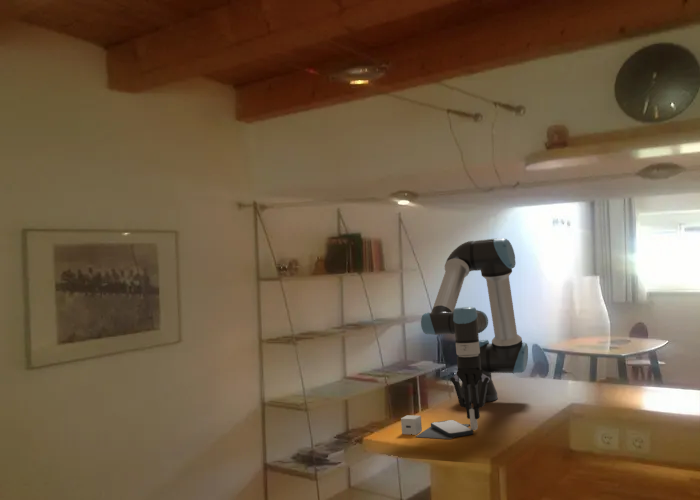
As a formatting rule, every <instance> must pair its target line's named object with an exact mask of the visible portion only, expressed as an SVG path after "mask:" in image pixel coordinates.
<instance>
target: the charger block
mask: <svg viewBox="0 0 700 500" xmlns="http://www.w3.org/2000/svg"><path fill="white" fill-rule="evenodd" d="M400 423H401V425H400V427H401V434H402V435H411V434H412V436H413V435H415V436H417V435H419V434H420V433H422V432H423V430H422V429H423V427H422V416H421V415H409V414H407V415H405V416H403V417H401V418H400Z"/></svg>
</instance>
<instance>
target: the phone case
mask: <svg viewBox="0 0 700 500" xmlns="http://www.w3.org/2000/svg"><path fill="white" fill-rule="evenodd" d="M462 424H463V423H460V422H459V421H456V420H453V419H449V420H447V419H446V420H442V421H433V422H431V423H430V427H432V428H434V429H435V430H437V431H439V432H440V433H442V434H444V435H446V436H447V437H450V438H452V437H454V438H459V437H464V436H471V435H472V436H473V434H474V430H472V429H471V427H469V426H468V427H466V426H464V425H462ZM452 439H453V438H452Z"/></svg>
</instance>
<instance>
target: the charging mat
mask: <svg viewBox="0 0 700 500" xmlns="http://www.w3.org/2000/svg"><path fill="white" fill-rule="evenodd" d="M461 424H462V425H464V426H466V427H468V428H469V426H471V425H470V424H467V423H461ZM415 438H419V439H420V438H422V439H423V438H424V439H425V438H426V439H439V440H452V439H454V438H455V437H452V438H450V437H447V436H446V435H444V434H442V433H440V432H439V431H437V430H435V429H434V428H432V427H431V426H429V427H428V428H427V429H425V430H422V431H421V432H420V433H418V434H417V435H415Z"/></svg>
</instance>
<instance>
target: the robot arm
mask: <svg viewBox="0 0 700 500" xmlns="http://www.w3.org/2000/svg"><path fill="white" fill-rule="evenodd" d="M515 266H516V255H515V250H514V248H513V245H512V244H511V242H510V240H508V239H507V238H498V237H497V238H488V239H479V240H469V241H466V242H464V243H461V244H460V245H458V246H457V247H456V248H455V249H453V251H452V252H451V253H450V254H449V256H448V257H447V259H446V261H445V264H444V271H445V272H444V274H443V278H442V281H441V284H440V286H439V289H438V292H437V294H436V298H435V301H434V303H433V307H432V309H431V312H427V313H423V314H422V315H421V318H420V319H421V320H420V327H421V330H422V332H423V333H424V334H425V335H434V336H437V335H439V336H440V335H454V339H455V341H454V342H455V351H456V355H457V357H456V363H457V364H456V366H457V371H456V374H455V375H453V376H452V377H450V381H451V383H452V384H453V386H454V389H455V390H454V391H455V393H456V397H457V399H458V402H459V406H460V407H462V408H464V409H466V411H465V412H466V418H467V420H469V421H470V425H469V426H470V429H472V430H473V431H476V430H478V428H479V427H478V420H479V419H480V418H481V416H480V408H483V407H485V404H486V403H487V402H493V401H496V400H497V399H499V398H498V391H497V389H496V386H495V384H494V382H493V379H492V374H514V375H515V374H518V373H519V374H521V373H524V372H525V371H526V369H527V365H528V358H529V347H528V343H527V342H523V339H522V336H520V335H519V334H518V331H517V325H516V319H515V318H516V317H515V311H514V310H515V309H514V303H513V296H512V289H511V282H510V275H511V274H512V272H513V268H515ZM474 271H477V272H478V271H480V273H481V277H482V278H484V279H485V280H486V287H487V292H488V299H489V307H490V313H491V318H492V319H491V320H492V326H493V333H494V337H493V338H492V340H491V343H490V341H489V339H482V340H481V339H479V338H480V337H479V334H480V333H482V332H483V331H485V330H486V329H487V327H488V325H489V317H488V316H487V314H486V313H485V312H484V311H482V310H478V309H476V307H473V306H463V307H456V306H457V303H458V299H459V296H460V293H461V291H462V287H463V284H464V280H465V279H466V277H467V276H468V275H469V274H470V272H474ZM460 381H461V383H460Z"/></svg>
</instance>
